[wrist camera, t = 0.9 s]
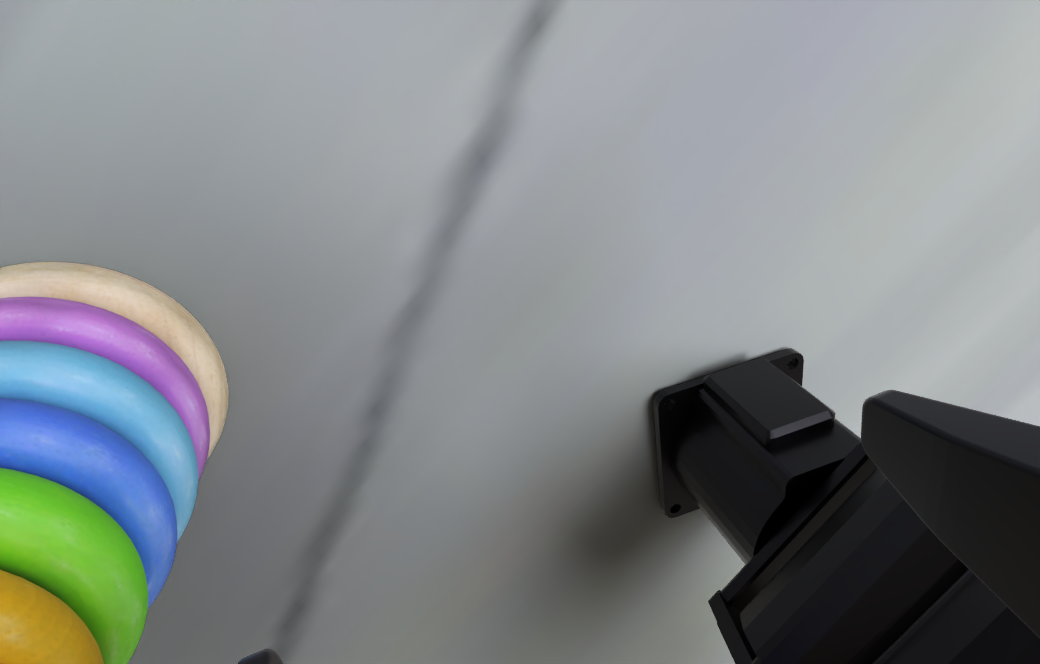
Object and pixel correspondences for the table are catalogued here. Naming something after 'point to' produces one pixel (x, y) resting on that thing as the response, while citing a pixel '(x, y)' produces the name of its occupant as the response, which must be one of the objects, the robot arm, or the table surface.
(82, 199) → the table surface
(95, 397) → the stacking toy
